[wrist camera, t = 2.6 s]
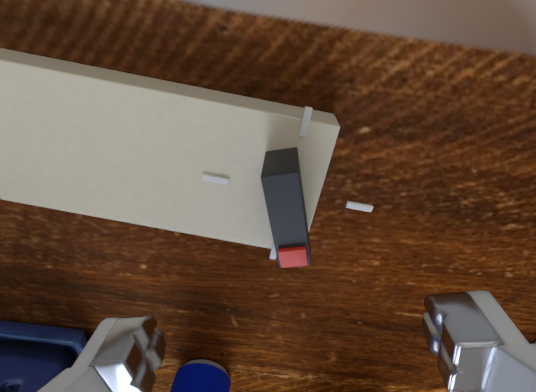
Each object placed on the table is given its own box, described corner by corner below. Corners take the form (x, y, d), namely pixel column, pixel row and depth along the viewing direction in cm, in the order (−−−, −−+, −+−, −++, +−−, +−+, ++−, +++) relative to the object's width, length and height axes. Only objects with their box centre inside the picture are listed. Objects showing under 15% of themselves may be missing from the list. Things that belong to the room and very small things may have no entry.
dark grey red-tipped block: (265, 151, 15) (259, 179, 12) (297, 146, 15) (298, 174, 12) (280, 232, 18) (278, 271, 15) (308, 229, 17) (311, 268, 15)
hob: (389, 112, 16) (406, 126, 14) (340, 245, 21) (346, 272, 19) (-2, 35, 16) (-52, 36, 14) (33, 189, 20) (0, 209, 18)
